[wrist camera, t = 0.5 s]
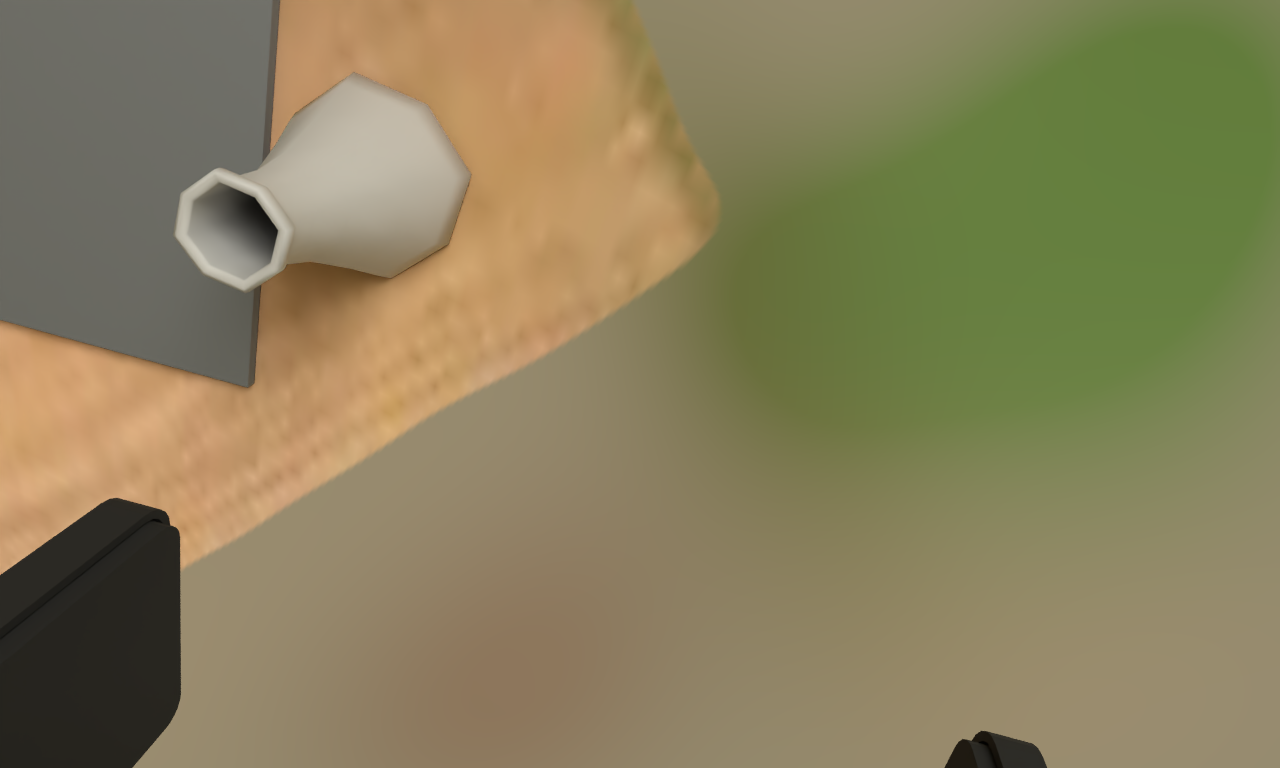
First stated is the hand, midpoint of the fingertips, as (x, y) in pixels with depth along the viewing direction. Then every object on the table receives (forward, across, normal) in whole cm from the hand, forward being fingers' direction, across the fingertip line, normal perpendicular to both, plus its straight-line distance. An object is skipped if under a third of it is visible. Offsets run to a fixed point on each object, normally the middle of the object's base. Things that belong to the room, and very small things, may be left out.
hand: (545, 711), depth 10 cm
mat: (+23, +24, 0) cm, 33 cm away
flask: (+24, +12, 0) cm, 27 cm away
